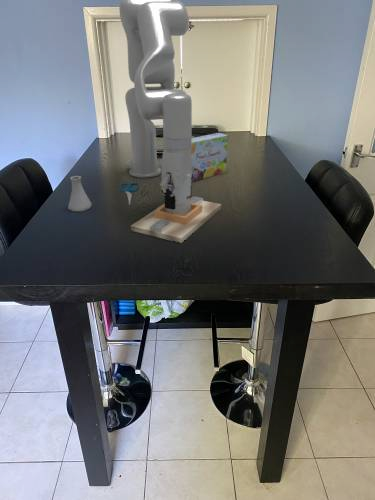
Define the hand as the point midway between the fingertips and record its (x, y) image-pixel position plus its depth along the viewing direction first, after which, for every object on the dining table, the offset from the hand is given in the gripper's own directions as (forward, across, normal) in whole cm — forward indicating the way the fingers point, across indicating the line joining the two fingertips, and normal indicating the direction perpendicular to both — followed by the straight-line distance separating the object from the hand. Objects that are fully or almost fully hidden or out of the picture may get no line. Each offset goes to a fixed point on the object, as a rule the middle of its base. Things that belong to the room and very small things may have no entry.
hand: (178, 202), depth 110 cm
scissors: (+6, -10, -25) cm, 28 cm away
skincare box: (+4, 0, 0) cm, 4 cm away
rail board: (+5, 0, 0) cm, 5 cm away
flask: (+5, +7, -32) cm, 33 cm away
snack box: (+5, -39, -11) cm, 41 cm away
